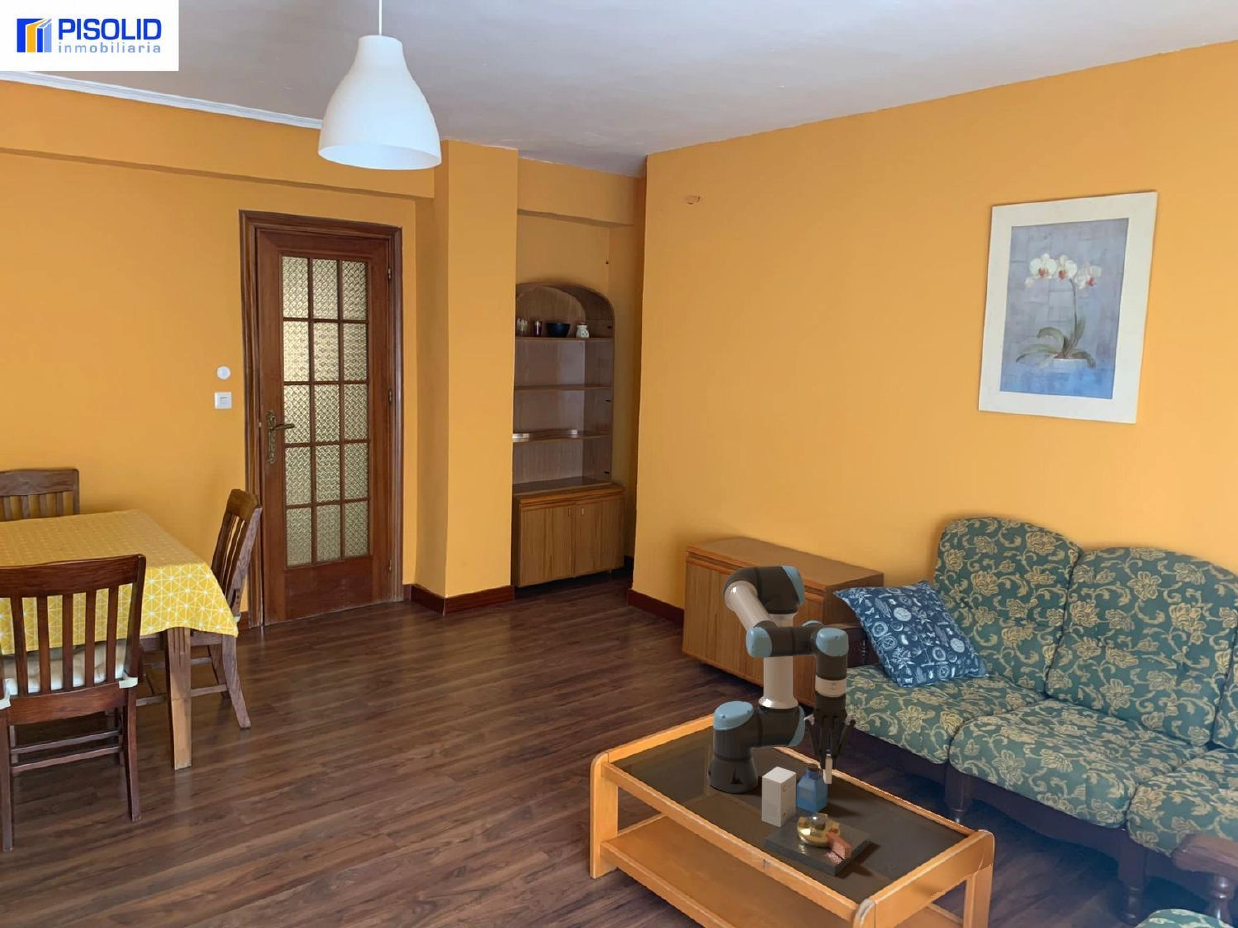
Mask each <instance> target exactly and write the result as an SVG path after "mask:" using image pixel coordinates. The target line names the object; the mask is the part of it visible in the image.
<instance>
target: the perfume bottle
mask: <svg viewBox="0 0 1238 928" xmlns="http://www.w3.org/2000/svg"><path fill="white" fill-rule="evenodd" d="M819 774H820V770H819V765H818V764H817V763H814V762H809V763H807V765H806V774H805V775H803V776H802V777H801V778H800V780H799V782H798V783H796V807H798V808H800V809H802V810H807V811H810V812H813V813H819V812H820V811H821V810H823V809H824V808H825V807H827V806H828V786H829V784H825V782H824V779H823V776H822V775H819Z"/></svg>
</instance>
